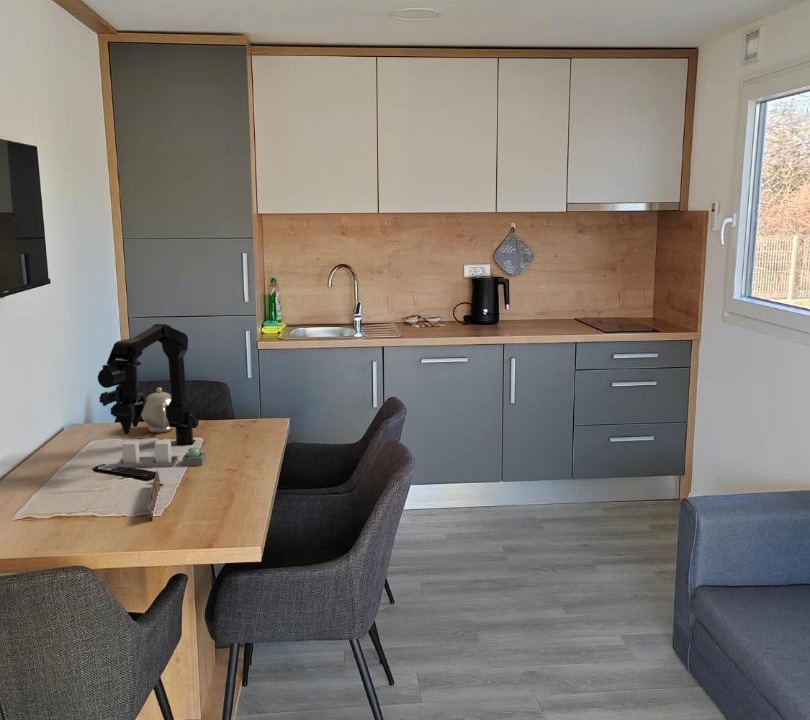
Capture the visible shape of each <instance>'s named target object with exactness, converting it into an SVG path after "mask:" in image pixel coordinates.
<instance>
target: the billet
mask: <svg viewBox="0 0 810 720" xmlns="http://www.w3.org/2000/svg"><path fill="white" fill-rule="evenodd" d="M121 448H122V449H121V450H122V457H123V463H139V461H140V457H141V455H140V452H139V450H140V443H139V440H125V441H124V442H123V443H122V445H121Z"/></svg>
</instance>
